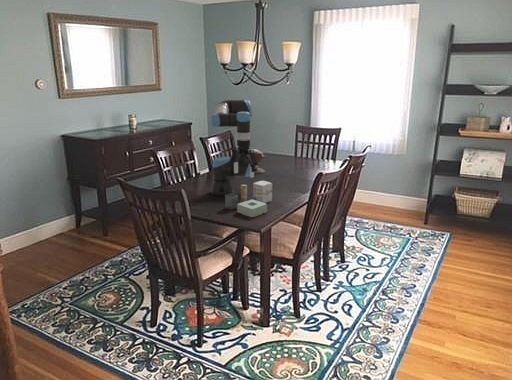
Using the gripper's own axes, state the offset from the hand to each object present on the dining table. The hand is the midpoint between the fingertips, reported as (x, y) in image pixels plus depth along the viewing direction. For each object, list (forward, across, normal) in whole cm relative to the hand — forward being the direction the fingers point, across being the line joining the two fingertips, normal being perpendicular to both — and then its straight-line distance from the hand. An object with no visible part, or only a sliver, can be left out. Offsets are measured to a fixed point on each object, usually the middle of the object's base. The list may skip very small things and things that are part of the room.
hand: (243, 175), depth 239 cm
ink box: (+19, +3, +13) cm, 23 cm away
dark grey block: (+18, -1, -9) cm, 21 cm away
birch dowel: (+18, 0, 0) cm, 18 cm away
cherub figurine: (+19, -53, +62) cm, 84 cm away
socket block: (+18, +13, -6) cm, 23 cm away
